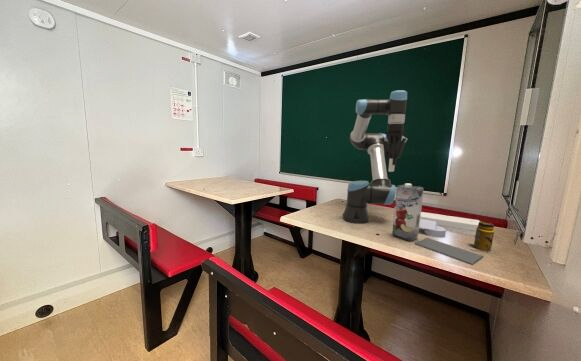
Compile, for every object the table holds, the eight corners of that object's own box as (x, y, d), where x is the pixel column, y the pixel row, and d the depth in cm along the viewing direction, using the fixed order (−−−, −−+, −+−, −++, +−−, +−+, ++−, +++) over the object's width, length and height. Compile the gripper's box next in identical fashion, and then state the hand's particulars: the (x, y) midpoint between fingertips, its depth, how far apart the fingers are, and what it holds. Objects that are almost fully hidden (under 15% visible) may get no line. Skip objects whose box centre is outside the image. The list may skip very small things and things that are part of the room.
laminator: (477, 230, 128) (479, 220, 128) (482, 238, 118) (484, 226, 117) (409, 219, 145) (410, 210, 144) (408, 225, 134) (409, 214, 133)
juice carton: (398, 232, 121) (404, 181, 117) (419, 239, 113) (426, 184, 109) (389, 235, 116) (394, 182, 112) (410, 243, 108) (417, 185, 104)
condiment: (494, 253, 100) (499, 226, 98) (471, 249, 103) (475, 223, 101) (487, 246, 106) (491, 221, 105) (465, 243, 109) (469, 219, 108)
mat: (414, 244, 106) (414, 242, 106) (427, 238, 113) (427, 237, 113) (472, 265, 89) (472, 263, 89) (482, 257, 96) (483, 255, 96)
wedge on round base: (415, 232, 122) (444, 238, 114) (416, 220, 121) (446, 225, 113) (417, 227, 129) (445, 233, 121) (418, 216, 128) (447, 221, 120)
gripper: (379, 124, 117) (375, 170, 121) (404, 122, 107) (399, 173, 110) (388, 125, 122) (383, 169, 125) (413, 123, 111) (407, 172, 115)
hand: (391, 171), depth 118 cm, fingers closed
